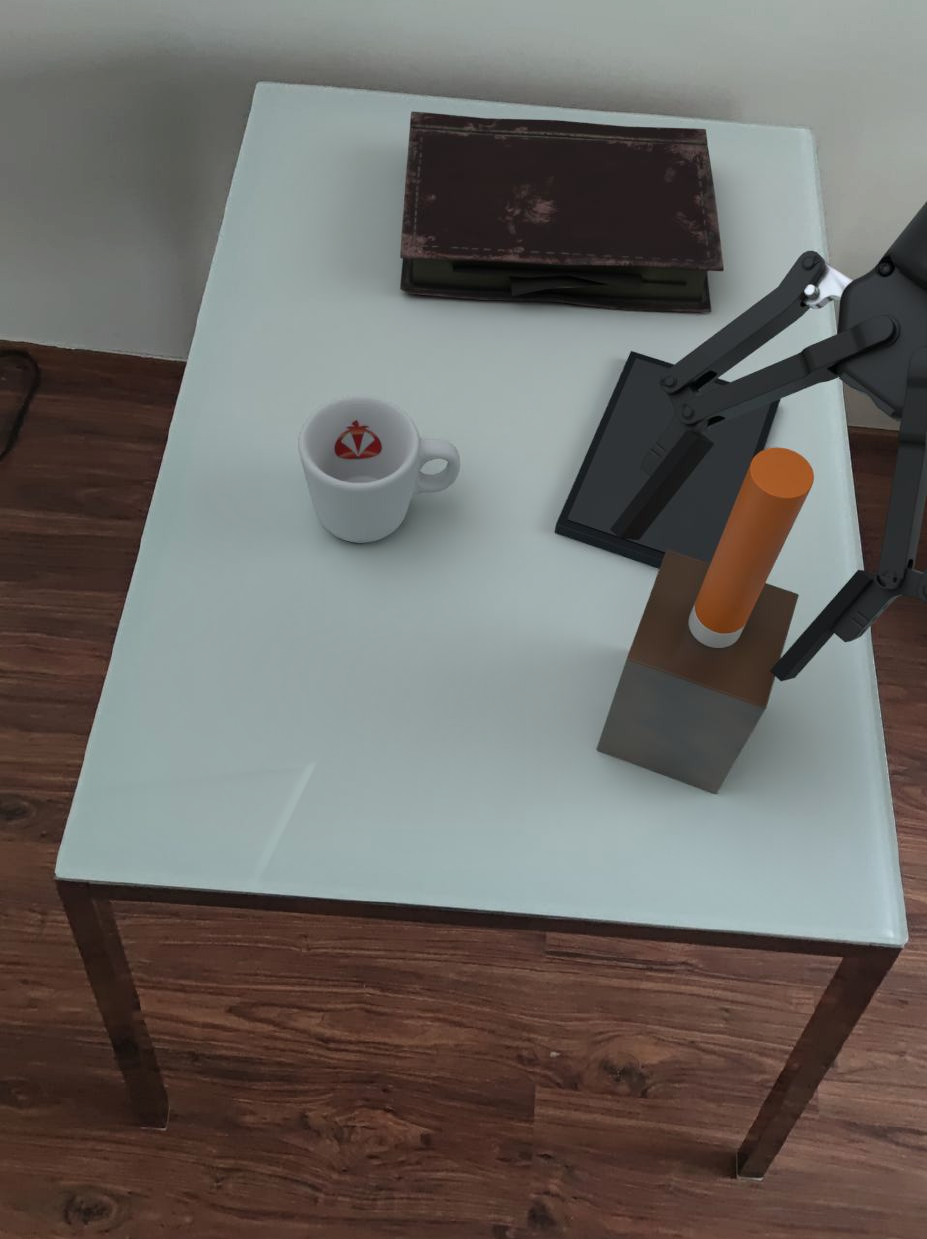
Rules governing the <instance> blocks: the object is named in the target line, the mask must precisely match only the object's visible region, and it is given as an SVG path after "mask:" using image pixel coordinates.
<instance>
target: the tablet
mask: <svg viewBox="0 0 927 1239" xmlns="http://www.w3.org/2000/svg"><path fill="white" fill-rule="evenodd" d="M674 364H675V363H671V362H668V361H665V360H661V359H659V358H655V357H653V356H649V355H646V354H643V353H640V352H637V351H633V350H630V351H629V354H628V356H627V359H626V361H625V364H624V366H623V368H622V371H621V373H620V375H619V377H618V380H617V382H616V385H615V387H614V389H613V392H612V393H611V396H610V398H609V401H608V403H607V405H606V408H605V410H604V412H603V415H602V416H601V419H600V422H599V424H598V426H597V429H596V431H595V433H594V435H593V438H592V440H591V442H590V444H589V447H588V449H587V451H586V454H585V456H584V459H583V461H582V463H581V465H580V467H579V470H578V472H577V475H576V476H575V479H574V482H573V484H572V485H571V489H570V491H569V493H568V495H567V498H566V500H565V503H564V504H563V507H562V509H561V511H560V514H559V517H558V519H557V520H556V523H555V527H554V533H555V534H557V535H561V536H563V537H566V538H569V539H572V540H575V541H577V542H581V543H583V544H585V545H586V544H587V545H590V546H592V547H596V548H598V549H601V550H604V551H606V552H610V553H613V554H616V555H619V556H622V557H624V558H628V559H630V560H633V561H635V562H639V563H641V564H645V565H648V566H651V567H654V568H656V569H658V570H659V569H660V566H661V563H662V561H663V558H664V555H665V553H666V550H670V551H673V552H676V553H679V554H682V555H685V556H688V557H691V558H694V559H697V560H700V561H703V562H705V563H708V564H711V561H712V559H713V556H714V554H715V551H716V549H717V546H718V544H719V541H720V539H721V536H722V534H723V531H724V529H725V526H726V524H727V521H728V519H729V516H730V514H731V511H732V509H733V506H734V504H735V501H736V499H737V496H738V494H739V491H740V489H741V486H742V484H743V481H744V479H745V476H746V474H747V471H748V469H749V466H750V464H751V462H752V459H753V458H754V457H755V456H756V455H757V454H758V453H759V452H761V451H763V450H765V448H766V445H767V442H768V438H769V436H770V432H771V431H772V430H771V429H772V426H773V424H774V420H775V417H776V415H777V411H778V409H779V405H780V402H781V399H779V400H776V401H774V402H771V403H769V404H766V405H764V406H762V407H759V408H757V409H754V410H752V411H749V412H747V413H744V414H742V415H739V416H737V417H735V418H732V419H730V420H727V421H725V422H722V423H720V424H717V425H715V426H713V427H710V428H711V431H703V432H702V433H701V434H702V435H704V436H706V437H707V438H708V439H709V440H711V441H712V442H713V443H714V445H713V446H712V448H711V449H710V450H709V452H708V453H707V454H706V455H705V457H704V458H703V459H702V460H701V462H700V463H699V464H698V466H697V467H696V468H695V469H694V471H693V472H692V473H691V474H690V476H689V477H688V478H687V480H686V481H685V482H684V483H683V485H682V486H681V487H680V488H679V490H678V491H677V492H676V494H675V495H674V496H673V497H672V499H671V500H670V501H669V502H668V504H667V505H666V506H665V508H664V509H663V510H662V511H661V513H660V514H659V515H658V516H657V518H656V519H655V520H654V522H653V523H652V524H651V525H650V527H649V528H648V529H647V530H646V532H645V533H644V534H643V536H642V537H641V538H640V539H639V540H632V539H621V538H619V537H618V536H617V535H616V534H614V533H613V532H612V531H611V530H610V529H611V527H612V526H613V525H614V523H615V522H616V521H617V520H618V518H619V517H620V516H621V514H622V513H623V512H624V510H625V509H626V508H627V507H628V505H629V504H630V503H631V501H632V500H633V499H634V497H635V496H636V495H637V494H638V492H639V491H640V490H641V488H642V487H643V486H644V485H645V483H646V482H647V481H648V479H649V478H650V476H649V475H648V474H647V473H646V472H644V471H643V470H642V469H641V465H642V461H643V458H644V457H645V456H646V454H647V453H648V452H649V450H651V448H652V446H653V445H654V444H655V443H656V441H657V440H658V439H659V437H660V436H661V435H662V433H663V432H664V431H665V429H666V428H667V427H668V425H669V424H670V423H671V421H672V420H673V417H674V412H675V411H674V407H673V404H672V402H671V401H670V399H669V397H668V395H667V394H666V392H664V391H663V390H662V389H661V387H660V378H661V375H662V374H663V373H664V372H665V371H667V370H668V369H669V368H671V367H672V366H673V365H674ZM730 382H731V381H728V380H725V379H721V378H720V377H719V378H717V379H716V380H715V381H713V382H712V383H711V384H709V385H708V386H706V387H705V388H704V389H702V390H701V391H700V394H704V393H706V392H709V391H711V390H713V389H716V388H718V387H720V386H723V385H725V384H727V383H730Z"/></svg>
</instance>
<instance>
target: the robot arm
mask: <svg viewBox="0 0 927 1239" xmlns="http://www.w3.org/2000/svg"><path fill="white" fill-rule="evenodd" d="M832 301H839V307H838V318H837V330H836V334H834V335H831V336H829V337H827V338H824V339H822V340H820V341H817V342H815V343H813V344H811V345H808V346H806V347H804V348H803V349H802V350H801V351H800V352H798V353H796V354H794V355H791V356H789V357H787V358H784V359H782V360H779V361H777V362H775V363H773V364H770V365H768V366H766V367H763V368H760V369H759V370H756V371H754V372H751V373H749V374H745V375H744V376H742V377H740V378H737V379H734V380H732V381H729V382H730V383H727V384H725V385H723V386H720V387H718V388H716V389H713V390H711V391H709V392H706V393H704V394H700V391H701V390H702V389H704V388H705V387H706V386H708V385H709V384H711V383H712V382H713V381H715V380H716V379H717V378H719V379H720V377H722V376H723V375H724V374H726V373H727V372H728V371H730V370H731V369H732V368H734V367H735V366H737V365H739V363H740V362H742V361H744V360H745V359H746V358H748V357H749V356H750V355H752V354H753V353H754V352H756V351H757V350H759V349H760V348H762V347H763V346H764V345H765V344H767V343H768V342H769V341H771V340H772V339H774V338H775V337H777V336H778V335H779V334H781V333H782V332H783V331H785V330H786V329H788V328H789V327H790V326H791V325H792V324H794V323H796V322H797V321H798V320H799V319H800V318H801V317H803V316H804V315H805V314H806V313H807V312H808V311H809V310H810V309H813V310H819V309H823V308H824V307H825V306H826V305H828V304H829V303H830V302H832ZM673 364H674V365H673V366H672V367H671V368H669V369H668V370H667V371H665V372H664V373H663V374H662V375H661V378H660V387H661V389H662V390H663V391H664V392H666V394H667V395H668V397H669V399H670V401H671V402H672V404H673V407H674V411H675V412H674V417H673V420H672V421H671V423H670V424H669V425H668V427H667V428H666V429H665V431H664V432H663V433H662V435H661V436H660V437H659V439H658V440H657V441H656V443H655V444H654V445H653V446H652V448H651V450H649V452H648V453H647V454H646V456H645V457H644V458H643V461H642V465H641V469H642V470H643V471H644V472H646V473H647V474H648V475H649V476H650V478H649V479H648V481H647V482H646V483H645V485H644V486H643V487H642V488H641V490H640V491H639V492H638V494H637V495H636V496H635V497H634V499H633V500H632V501H631V503H630V504H629V505H628V507H627V508H626V509H625V510H624V512H623V513H622V514H621V516H620V517H619V518H618V520H617V521H616V522H615V523H614V525H613V526H612V527H611V529H610V530H611V531H612V532H613V533H614V534H616V535H617V536H618V537H619V538H621V539H632V540H639V539H640V538H641V537H642V536H643V534H644V533H645V532H646V530H647V529H648V528H649V527H650V525H651V524H652V523H653V522H654V520H655V519H656V518H657V516H658V515H659V514H660V513H661V511H662V510H663V509H664V508H665V506H666V505H667V504H668V502H669V501H670V500H671V499H672V497H673V496H674V495H675V494H676V492H677V491H678V490H679V488H680V487H681V486H682V485H683V483H684V482H685V481H686V480H687V478H688V477H689V476H690V474H691V473H692V472H693V471H694V469H695V468H696V467H697V466H698V464H699V463H700V462H701V460H702V459H703V458H704V457H705V455H706V454H707V453H708V452H709V450H710V449H711V448H712V446H713V445H714V443H713V442H712V441H711V440H709V439H708V438H707V437H706V436H704V435H702V434H701V433H702V432H703V431H711V428H710V427H713V426H715V425H717V424H720V423H722V422H725V421H727V420H730V419H732V418H735V417H737V416H739V415H742V414H744V413H747V412H749V411H752V410H754V409H757V408H759V407H762V406H764V405H766V404H769V403H771V402H774V401H776V400H779V399H780V400H782V399H783V398H786V397H788V396H791V395H794V394H796V393H798V392H801V391H803V390H805V389H808V388H810V387H813V386H815V385H818V384H822V383H828V382H830V381H834V380H836V379H839V380H840V381H842V382H843V383H844V384H846V385H847V386H848V387H850V388H851V389H852V390H854V391H856V392H857V393H859V394H860V395H863V396H866V397H868V398H870V399H871V401H872V402H873V404H874V405H875V406H876V408H877V409H879V410H880V411H881V412H883V413H884V414H885V415H887V416H888V417H889V418H891V419H892V420H894V421H896V422H898V423H899V422H900V424H899V429H898V435H897V436H898V438H897V439H898V447H897V448H898V449H897V452H896V453H897V454H896V460H895V464H894V466H895V467H894V471H893V478H892V482H891V490H890V494H889V500H888V501H889V502H888V507H887V513H886V519H885V525H884V530H883V537H882V544H881V549H880V555H879V561H878V566H877V573H876V574H874V572H872V571H871V570H866V569H857V570H856V572H855V573H853V575H852V576H851V577H850V578H849V580H847V582H846V583H845V584H844V585H843V587H841V588H840V590H839V591H838V592H837V593H836V594H835V595H834V597H832V599H831V600H830V601H829V602H828V604H827V605H826V606H825V607H824V608H823V609H822V611H820V612H819V614H818V615H817V616H816V617H815V618H814V620H812V622H811V623H810V624H809V626H808V627H806V628H805V630H804V631H803V632H802V633H801V635H799V637H798V638H797V639H796V640H795V641H794V642H793V644H792V645H791V646H790V647H789V648H788V649H787V650H786V652H785V653H784V654H782V655H781V659H780V660H779V661H778V662H777V663H776V664H775V666H774V667H773V668H772V669H771V670H770V672H771V673H772V674H773V675H774V676H775V679H778V680H779V681H780V682H785V681H788V680H789V681H790V680H792V679H796V677H798V675H799V674H800V673H801V672H802V671H803V670H804V668H806V667H807V665H808V664H809V663H810V661H811V660H813V659H814V657H815V656H816V655H817V654H818V653H819V651H820V650H822V648H824V646H825V645H826V644H827V642H828V641H829V640H830V639H831V638H832V637H833V636H834V635H836V636H837V637H838V638H839V639H840V640H841V641H842V642H844V643H850V642H853V641H855V640H857V639H859V638H861V637H863V635H864V634H865V633H866V632H867V631H868V630H869V628H870V627H872V625H873V624H874V623H875V622H876V621H877V620H878V619H879V617H881V615H882V614H883V613H884V612H885V611H886V610H887V608H888V607H889V606H890V605H891V604H892V603H893V602H894V601H895V600H896V599H897V598H899V597H902V596H906V597H910V598H912V599H915V600H919V601H920V602H922V603H924V604H927V565H926V566H925V568H924V571H921V570H917V569H915V565H916V558H917V553H918V547H919V541H920V535H921V528H922V524H923V518H924V511H925V506H926V500H927V200H926V201H925V203H924V204H923V205H922V206H921V207H920V209H919V210H918V211H917V213H916V214H915V215H914V216H913V218H912V219H911V220H910V222H908V224H907V225H906V226H905V227H904V229H903V230H902V231H901V232H900V234H899V235H898V237H896V239H895V240H894V241H893V243H892V244H891V245H890V247H889V248H888V249H887V250H886V251H885V253H884V254H883V255H882V256H881V258H880V260H879V261H878V262H877V263H876V265H875V266H874V267H873V268H872V269H871V270H869V271H868V272H866V273H865V274H863V275H862V276H859V277H857V278H854V279H851V278H850V277H848V276H846V275H845V274H843V273H842V272H840V271H839V270H838V269H835V268H834V267H833V266H831V264H830V263H829V262H828V261H826V259H825V258H824V257H822V256H821V255H820V253H818V252H817V251H815V250H807V251H804V252H802V254H800V256H799V257H798V258H797V259H796V261H795V262H794V264H793V265H792V266H791V268H790V269H789V271H788V272H787V274H786V275H785V276H784V278H783V279H782V280H781V282H780V283H779V285H778V286H777V287H775V288H774V289H773V290H771V291H770V292H769V293H768V294H766V295H765V296H764V297H762V298H761V299H760V300H758V301H757V302H755V303H754V304H753V305H751V306H750V307H749V308H747V309H746V310H745V311H744V312H742V313H741V314H740V315H738V316H737V317H736V318H734V319H733V320H732V321H731V322H729V323H728V324H726V325H725V326H724V327H722V328H720V329H719V330H718V331H717V332H716V333H714V334H713V335H712V336H710V337H709V338H707V339H706V340H705V341H704V342H702V343H701V344H699V345H698V346H697V347H696V348H694V349H693V350H692V351H690V352H689V353H688V354H686V355H685V356H684V357H683V358H681V359H680V360H678V361H677V362H676V363H673Z"/></svg>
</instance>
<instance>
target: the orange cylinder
mask: <svg viewBox="0 0 927 1239" xmlns="http://www.w3.org/2000/svg"><path fill="white" fill-rule="evenodd" d="M814 481H815V474H814V469H813V467H812V466H811V463H810V462H809V461H808V460H807V459H806V458H805V457H804V456H803V455H802V454H800V453H798V452H796V451H794V450H792V449H789V448H785V447H777V446H776V447H769V448H766V449H765V448H764V450H763V451H761V452H759V453H758V454H757V455H756V456H755V457H754V458H753V459H752V462H751V464H750V466H749V469H748V471H747V474H746V476H745V479H744V481H743V484H742V486H741V489H740V491H739V494H738V496H737V499H736V501H735V504H734V506H733V509H732V511H731V514H730V516H729V519H728V521H727V524H726V526H725V529H724V531H723V534H722V536H721V539H720V541H719V544H718V546H717V549H716V551H715V554H714V556H713V559H712V561H711V564H710V566H709V569H708V571H707V574H706V576H705V579H704V581H703V584H702V586H701V589H700V591H699V594H698V596H697V599H696V601H695V604H694V606H693V609H692V611H691V614H690V616H689V628H690V631H691V633H692V634H693V636H694V637H695V638H696V639H697V640H698V641H699V642H701V643H702V644H704V645H706V646H709V647H712V648H724V647H728V646H730V645H732V644H734V643H735V642H736V641H737V640H738V638H739V637H740V635H741V633H742V630H743V628H744V626H745V624H746V622H747V620H748V618H749V616H750V614H751V612H752V610H753V608H754V606H755V603H756V601H757V599H758V597H759V595H760V593H761V591H762V589H763V587H764V585H765V583H767V580H768V578H769V577H770V574H771V572H772V570H773V569H774V566H775V564H776V561H777V560H778V558H779V556H780V554H781V551H782V550H783V547H784V545H785V543H786V541H787V538H789V535H790V533H791V531H792V528H794V525H795V522H796V520H797V518H798V516H799V514H800V512H801V510H802V507H803V506H804V503H805V502H806V501H807V500H806V499H807V497H808V495H809V494H810V491H811V489H812V487H813V485H814V483H815V482H814Z"/></svg>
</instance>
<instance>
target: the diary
mask: <svg viewBox="0 0 927 1239" xmlns="http://www.w3.org/2000/svg"><path fill="white" fill-rule="evenodd" d="M408 133H409V134H408V144H407V146H408V147H407V157H406V158H407V159H406V169H405V170H406V172H405V183H404V184H405V185H404V195H403V196H404V197H403V209H402V211H403V212H402V225H401V237H400V238H401V239H400V251H399V252H400V254H399V258H400V259H402V262H401V273H400V274H401V275H400V276H401V277H400V286H399V289H400V290H401V291H403V292H406V293H409V294H412V295H422V296H431V297H432V296H433V297H443V298H454V299H455V298H457V299H465V300H466V299H468V300H477V301H519V302H520V301H522V302H524V301H525V302H527V301H528V302H555V303H563V304H570V305H580V306H587V307H588V306H589V307H596V308H604V309H611V310H612V309H613V310H620V311H633V312H634V311H636V312H637V311H638V312H640V311H641V312H643V311H644V312H693V313H695V312H697V313H700V312H701V313H711V312H712V306H711V304H712V303H711V297H710V296H711V295H710V284H709V278H708V277H709V276H708V272H709V271H710V272H724V271H725V270H724V260H723V252H722V244H721V243H722V242H721V234H720V225H719V217H718V208H717V199H716V191H715V186H714V178H713V170H712V165H711V158H710V150H709V146H708V144H709V143H708V133H707V129H706V128H695V127H692V128H691V127H664V126H663V127H659V126H629V125H628V126H627V125H616V124H615V125H614V124H605V123H603V124H602V123H592V122H582V121H569V120H559V119H533V118H530V119H529V118H495V117H493V118H491V117H489V118H488V117H478V116H477V117H476V116H466V115H457V114H448V113H447V114H446V113H435V112H425V111H411V112H410V121H409V132H408Z"/></svg>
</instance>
